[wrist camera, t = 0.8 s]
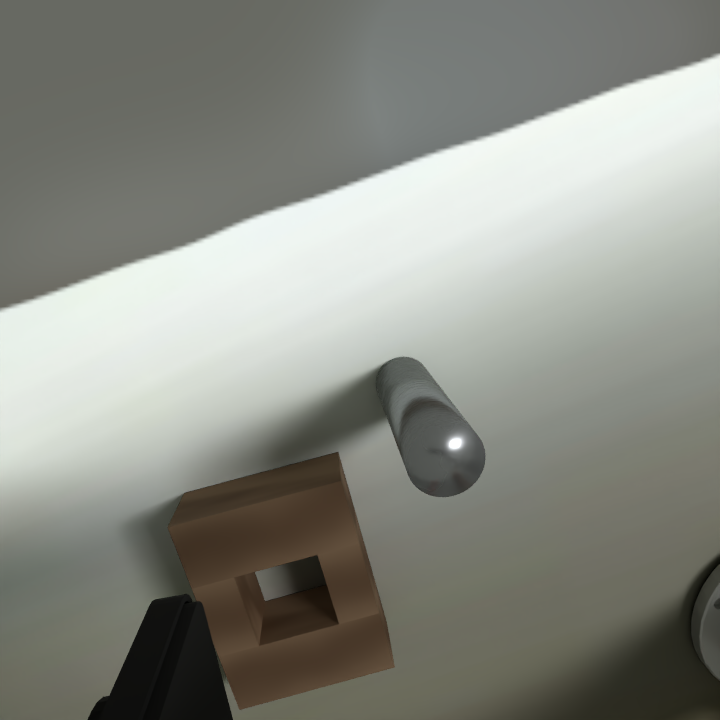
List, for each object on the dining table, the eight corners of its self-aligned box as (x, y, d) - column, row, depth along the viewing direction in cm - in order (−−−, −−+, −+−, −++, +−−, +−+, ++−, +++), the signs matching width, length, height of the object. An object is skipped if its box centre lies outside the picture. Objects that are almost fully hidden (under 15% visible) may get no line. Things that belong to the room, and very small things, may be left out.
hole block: (386, 622, 33) (394, 667, 30) (247, 660, 33) (239, 709, 29) (338, 451, 30) (340, 480, 26) (184, 493, 30) (167, 527, 26)
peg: (434, 400, 30) (491, 485, 20) (383, 414, 30) (415, 505, 20) (423, 350, 29) (477, 413, 19) (370, 364, 29) (397, 434, 19)
